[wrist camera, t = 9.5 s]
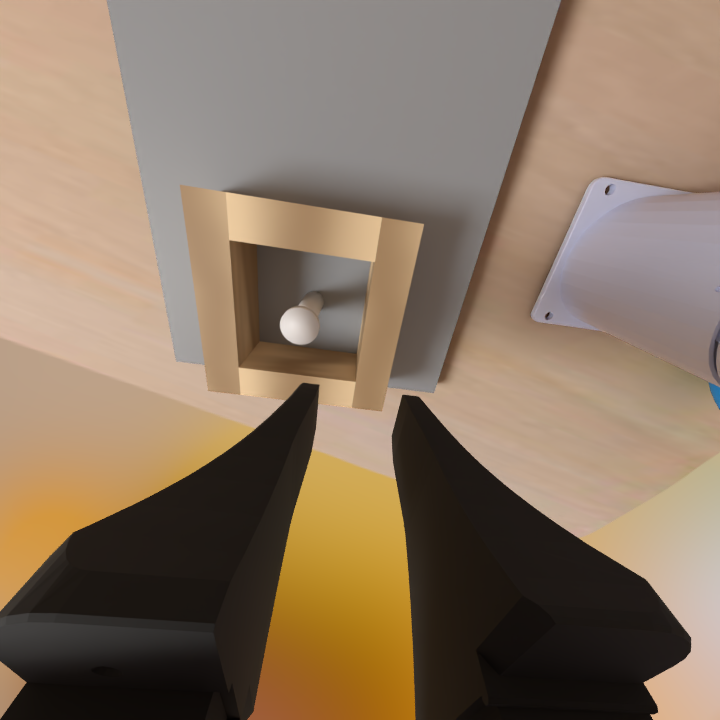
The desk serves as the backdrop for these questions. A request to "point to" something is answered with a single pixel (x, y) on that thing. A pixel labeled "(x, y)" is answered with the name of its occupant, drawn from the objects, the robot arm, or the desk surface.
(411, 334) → the slate board
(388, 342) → the oak frame
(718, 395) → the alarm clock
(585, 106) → the desk surface
